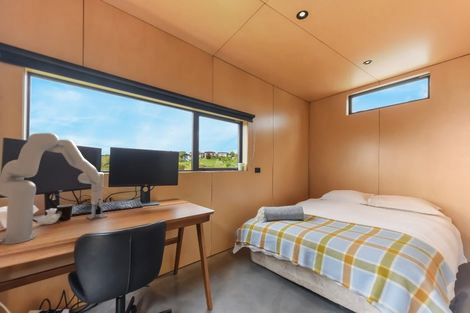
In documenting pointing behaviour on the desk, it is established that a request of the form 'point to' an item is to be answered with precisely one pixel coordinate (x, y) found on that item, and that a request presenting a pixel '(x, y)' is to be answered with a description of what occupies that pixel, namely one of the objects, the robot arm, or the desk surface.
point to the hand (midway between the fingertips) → (96, 213)
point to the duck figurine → (49, 217)
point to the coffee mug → (64, 211)
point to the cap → (95, 209)
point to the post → (96, 216)
